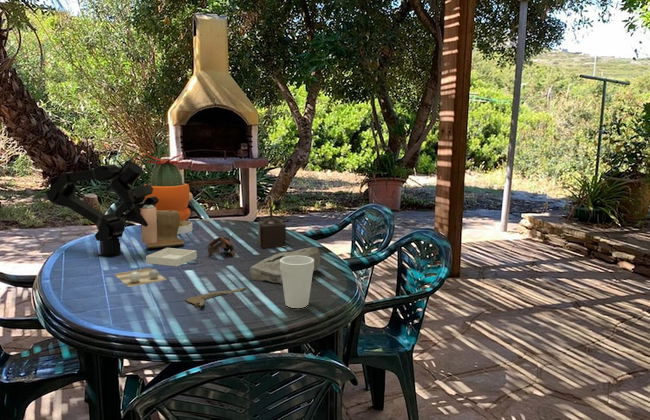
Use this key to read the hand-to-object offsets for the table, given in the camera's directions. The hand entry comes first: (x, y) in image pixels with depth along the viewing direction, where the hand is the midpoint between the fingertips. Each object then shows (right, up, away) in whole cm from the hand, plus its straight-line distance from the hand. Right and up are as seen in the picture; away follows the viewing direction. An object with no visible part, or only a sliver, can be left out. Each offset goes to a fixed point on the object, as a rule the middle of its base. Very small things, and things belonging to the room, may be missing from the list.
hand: (152, 224), depth 181 cm
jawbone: (+33, -21, -37) cm, 54 cm away
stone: (+50, -17, -14) cm, 55 cm away
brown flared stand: (-3, -10, +22) cm, 24 cm away
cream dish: (+7, -13, 0) cm, 15 cm away
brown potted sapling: (+40, -9, +28) cm, 50 cm away
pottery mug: (+24, -12, +9) cm, 28 cm away
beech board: (+3, -17, -20) cm, 26 cm away
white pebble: (+3, -17, -25) cm, 31 cm away
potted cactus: (-9, -5, +47) cm, 49 cm away
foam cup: (+55, -22, -41) cm, 72 cm away
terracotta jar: (-1, -6, +2) cm, 7 cm away
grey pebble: (+8, -17, -21) cm, 28 cm away
